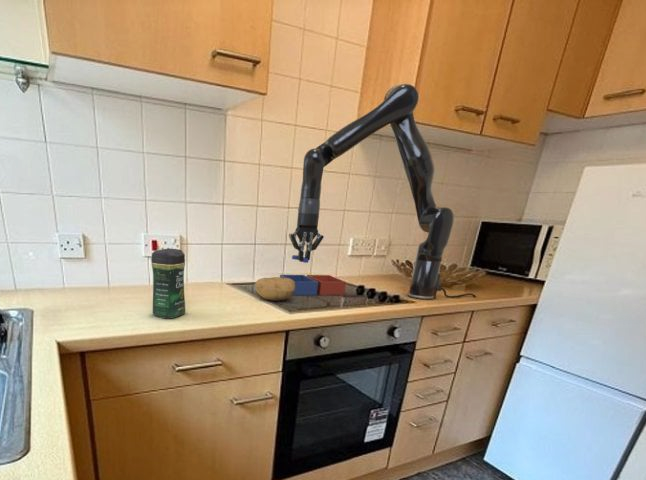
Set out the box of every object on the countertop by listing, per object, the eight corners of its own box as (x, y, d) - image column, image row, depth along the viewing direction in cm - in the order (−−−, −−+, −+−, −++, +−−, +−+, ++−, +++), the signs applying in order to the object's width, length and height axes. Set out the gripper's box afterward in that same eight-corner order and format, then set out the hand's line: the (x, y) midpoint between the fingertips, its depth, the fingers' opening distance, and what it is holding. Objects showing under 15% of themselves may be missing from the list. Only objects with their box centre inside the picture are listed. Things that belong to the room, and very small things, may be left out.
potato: (254, 296, 146) (255, 274, 143) (293, 298, 146) (295, 276, 143) (253, 302, 137) (254, 278, 134) (295, 305, 137) (297, 281, 134)
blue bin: (302, 287, 168) (303, 274, 166) (316, 295, 154) (318, 281, 152) (278, 287, 165) (279, 274, 163) (291, 295, 152) (292, 281, 150)
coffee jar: (173, 320, 112) (171, 251, 105) (148, 316, 115) (145, 248, 108) (189, 313, 121) (189, 248, 114) (166, 309, 123) (165, 246, 116)
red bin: (328, 287, 170) (329, 275, 168) (344, 295, 157) (346, 282, 155) (305, 287, 168) (306, 274, 166) (319, 295, 154) (321, 281, 152)
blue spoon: (290, 258, 159) (290, 254, 159) (300, 258, 160) (300, 254, 160) (301, 262, 149) (301, 258, 149) (311, 262, 150) (311, 258, 150)
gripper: (294, 211, 140) (289, 262, 147) (330, 213, 144) (324, 263, 150) (287, 210, 147) (283, 259, 153) (322, 212, 150) (316, 260, 157)
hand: (303, 261), depth 152 cm, fingers closed on blue spoon, 1 cm apart
